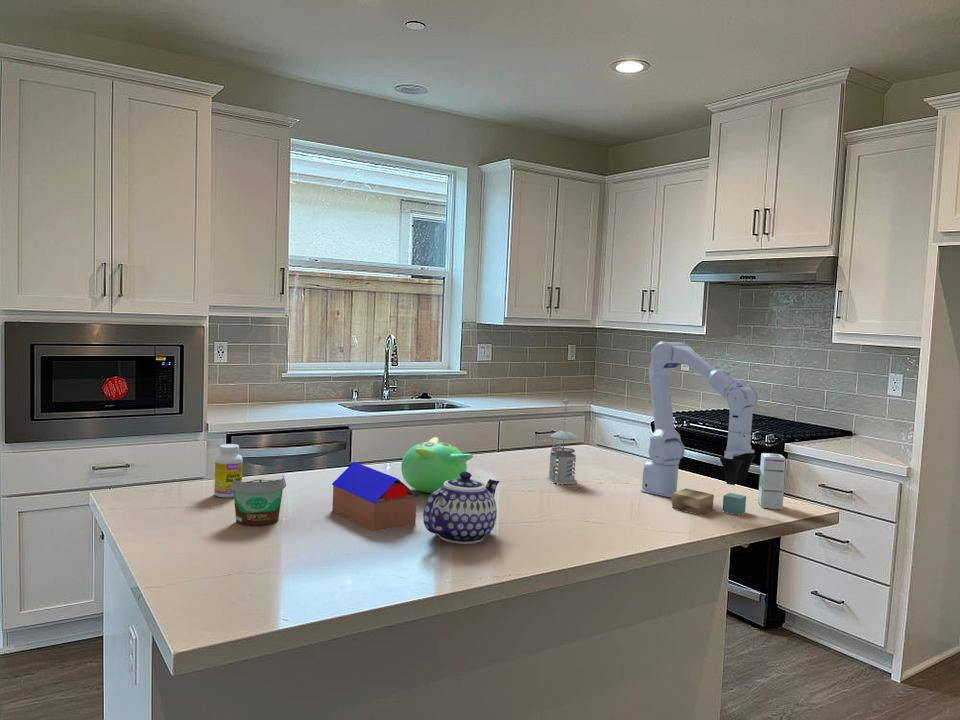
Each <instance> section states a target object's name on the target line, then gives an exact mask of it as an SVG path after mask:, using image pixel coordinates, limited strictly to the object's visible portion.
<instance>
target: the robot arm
mask: <svg viewBox="0 0 960 720" xmlns="http://www.w3.org/2000/svg"><path fill="white" fill-rule="evenodd" d="M650 357H651V360H650V363H649V367H648V378H649V387H650V388H649V389H650V396H651V397H650V398H651V406H652V415H653V422H654V423H653V425H654V431H653V433H652V434H651V435H650V436H649V447H648V456H649V458H650V459H651V460H647V461H646V462H645V463H644V465H643V470H642V481H641V482H642V483H641V485H642V486H641V489H640V491H641V492H642V493H648V494H652V495H656V496H657V495H658V496H662V497H666V498H672V493H674V492H677V491H678V478H679V464H680V460H681V459H683V457H684V455H685V445H684V444H683V442H682V440H681V434H680V433H679V432H678V431H677V430H676V429H675V421H674V413H673V405H672V396H671V395H672V394H671V388H670V379H669V377H670V374H671V373H673V371H674V369H676V368H677V367H679V366H681V365H687V367H689V368H691V369H692V370H694V371H695V372H696V373H698V374H699V375H701V376H702V377H704V378H705V379H706V380H707V385H708V386H709V387H710V388H711V389H713V390H714V392H716V393H718V394H719V395H720V396H721V397H723V398H724V399H725V401H726V404H727V406H728V410H729V411H728V412H729V416H728V419H729V420H728V431H727V432H728V433H727V443H726V445H727V446H726V449H725V450H724V454H723V455H721V456H719V461H720V462H721V465H722V467H723V468H722V469H723V471H724V477H725V482H726V484H727V485H731V486H735V485H736V484H737V481H738V480H739V481H743V482H745V481H746V479H747V477H748V473H749V472H750V471H749V470H750V468H751V465H752V463H753V461H754V460H755V458H756V454H755V449H752V445H751V440H752V425H753V411H754V409H753V408H754V406H755V405H757V403H758V399H759V397H758V393H757V391H756V390H755V389H754V387H753V386H750V385H744V382H742V381H741V380H738V379H736V378H734V376H732V375H731V374H730V373H731V372H730V371H729V370H728V369H722V368H720V369H715V367H714V366H712V365H711V364H709V362H707V361H706V360H705V359H703V358H702V356H700V355H699V354H698V353H697V352H695V350H694V349H693V348H692V347H691V346H689V345H687V344H686V343H685V342H683V341H677V342H676V341H675V342H673V341H671V342H670V341H669V342H668V341H659V342H658V343H656V344H655V345H654V346H653V348H652V349H650Z"/></svg>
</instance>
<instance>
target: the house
mask: <svg viewBox="0 0 960 720" xmlns="http://www.w3.org/2000/svg"><path fill="white" fill-rule="evenodd" d="M331 485H332V510H331V511H333V512H335V513H337V514H339V515H341V516H342V517H345V518H346V519H349V520H350V521H351V522H354V523H355V524H358V525H360V526H362V527H364V528H366V529H368V530H370V531H372V532H378V531H383V530H389V529H395V528H400V527H406V526H412V525H416V521H417V519H416V518H417V502H418V501H417V500H418V498H419V495H417V494H416V493H415V492H413V490H411V489H410V488H409V487H408V486H407V485H406V484H405V483H403V482H402V481H401V480H400V479H399V478H398V477H395V476H393V475H389V474H387V473H384V472H382V471H379V470H376V469H374V468H371V467H369V466H366V465H365V464H362V463H361V464H360V463H359V462H356V461H353V462H352V463H351V464H350V465H349V466H348V467H347V468H346V469H345V470H344V471H343V472H342V473H340V475H339V476H338V477H337V478H336V479H335V480H334V481H333V482H332V483H331ZM417 497H418V498H417Z"/></svg>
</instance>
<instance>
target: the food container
mask: <svg viewBox="0 0 960 720" xmlns="http://www.w3.org/2000/svg"><path fill="white" fill-rule="evenodd" d="M286 487H287V482H286V478H285V476H284V475H282V478H281V479H253V480H249V481H242V482H239V481H236V480H234V479H233V482H231V486H230V488H231V489H233V491H234V497H233V500H234V512H235V523H236V524H238V525H241V526H243V527H244V526H245V527H256V528H257V527H266V526H270V525H275V524H276V523H277V522H279V518H280V513H281V512H280V511H281V503H282V498H283V491H284V490H283V489H285V488H286Z"/></svg>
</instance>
